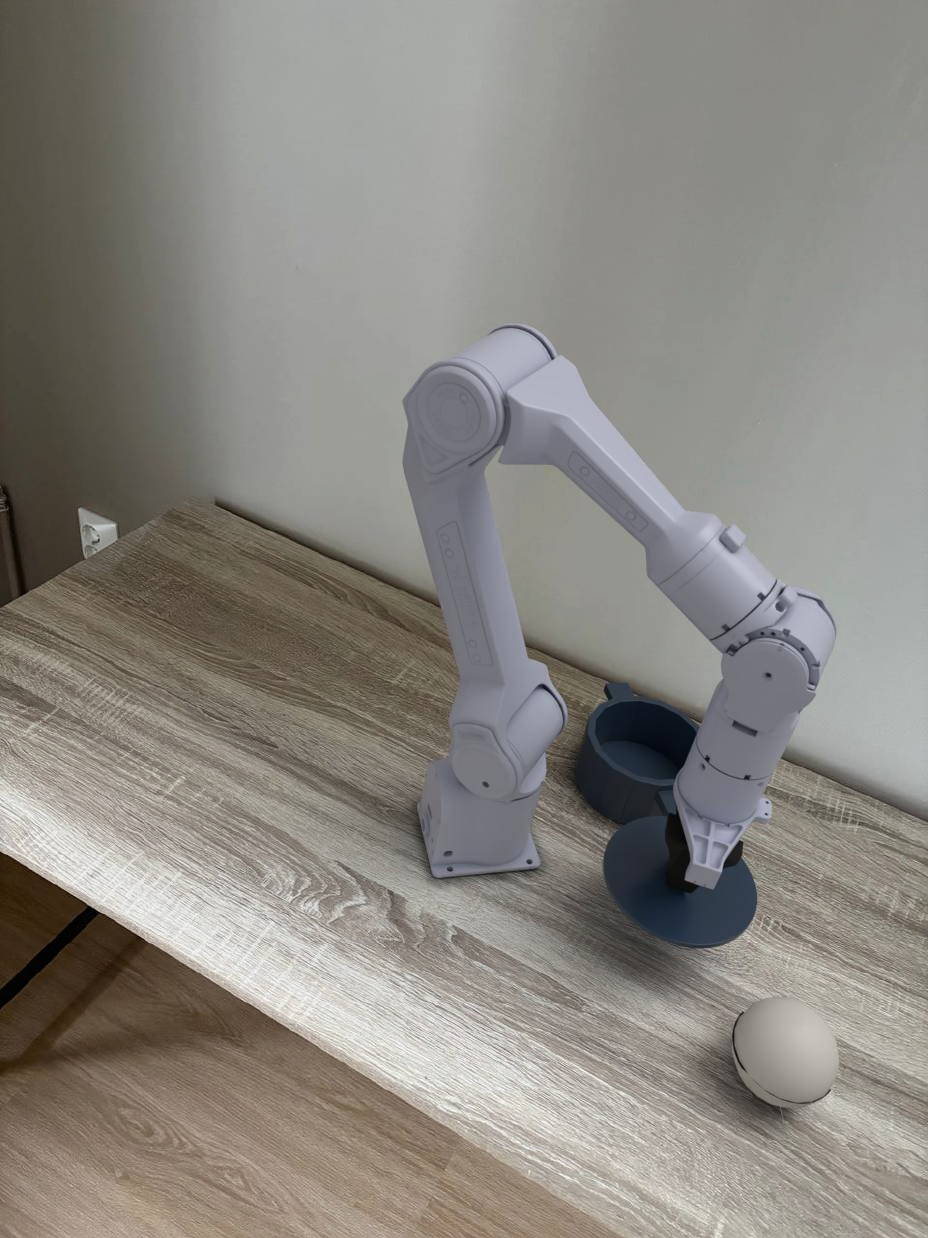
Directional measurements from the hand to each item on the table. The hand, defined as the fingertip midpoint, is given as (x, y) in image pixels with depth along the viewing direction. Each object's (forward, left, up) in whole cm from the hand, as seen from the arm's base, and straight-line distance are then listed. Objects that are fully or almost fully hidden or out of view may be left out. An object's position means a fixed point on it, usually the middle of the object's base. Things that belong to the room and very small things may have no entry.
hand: (681, 871), depth 76 cm
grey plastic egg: (+3, -14, -8) cm, 16 cm away
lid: (0, 0, -1) cm, 1 cm away
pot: (+4, +16, -8) cm, 18 cm away
